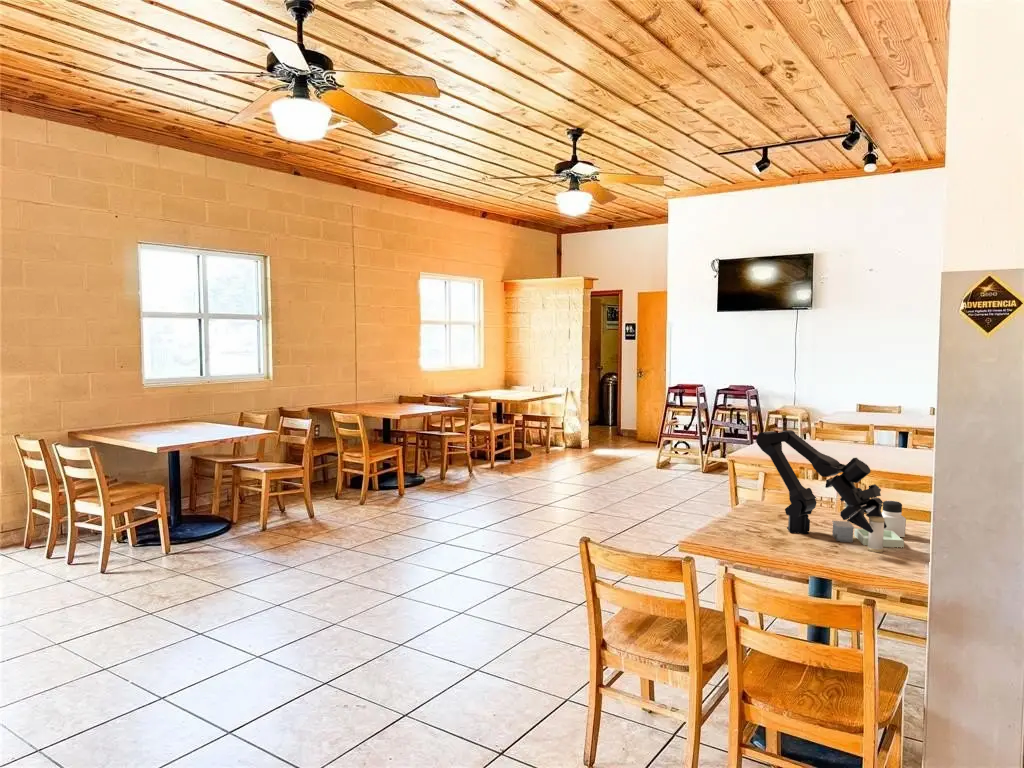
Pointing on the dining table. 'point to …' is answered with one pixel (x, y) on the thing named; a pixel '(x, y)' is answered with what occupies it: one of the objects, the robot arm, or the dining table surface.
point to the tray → (888, 539)
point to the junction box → (843, 531)
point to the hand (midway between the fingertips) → (879, 530)
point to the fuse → (876, 534)
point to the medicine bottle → (894, 517)
